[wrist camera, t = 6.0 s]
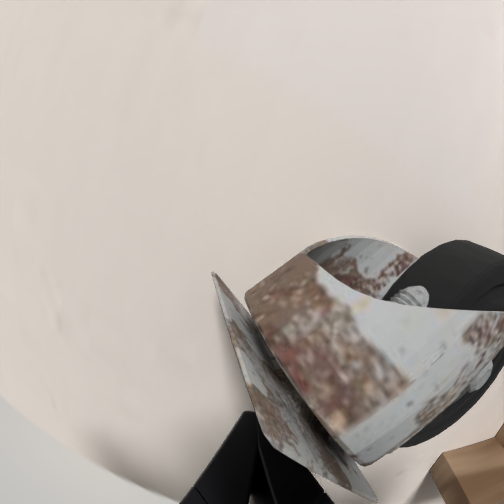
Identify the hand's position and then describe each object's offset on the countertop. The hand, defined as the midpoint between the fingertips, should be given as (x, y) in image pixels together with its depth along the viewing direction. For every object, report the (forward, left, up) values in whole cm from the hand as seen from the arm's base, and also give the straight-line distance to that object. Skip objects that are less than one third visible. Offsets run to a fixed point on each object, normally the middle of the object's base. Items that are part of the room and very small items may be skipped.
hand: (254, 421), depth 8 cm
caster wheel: (+2, -6, -4) cm, 7 cm away
